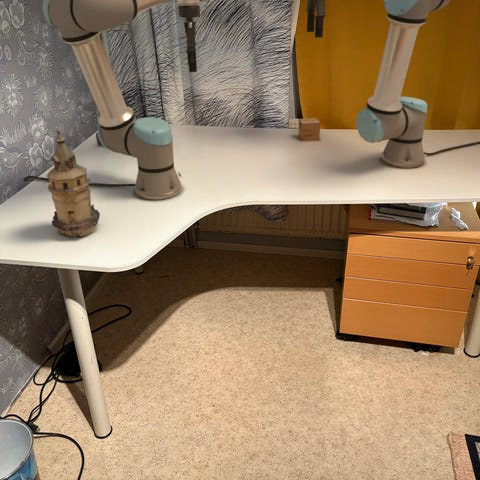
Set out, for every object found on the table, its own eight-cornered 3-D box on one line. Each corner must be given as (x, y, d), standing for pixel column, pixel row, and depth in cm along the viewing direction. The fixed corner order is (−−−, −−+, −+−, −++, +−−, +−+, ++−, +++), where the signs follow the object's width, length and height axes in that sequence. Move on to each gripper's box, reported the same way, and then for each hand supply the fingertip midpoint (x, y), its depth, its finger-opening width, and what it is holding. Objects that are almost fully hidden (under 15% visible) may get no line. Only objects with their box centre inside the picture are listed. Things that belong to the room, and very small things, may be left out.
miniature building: (80, 214, 164) (63, 117, 149) (111, 225, 157) (96, 125, 142) (44, 231, 154) (22, 130, 140) (75, 244, 147) (55, 139, 133)
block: (319, 140, 221) (320, 122, 217) (301, 141, 220) (302, 123, 216) (315, 135, 226) (316, 118, 223) (298, 136, 226) (298, 118, 222)
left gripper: (201, 8, 174) (204, 75, 184) (198, 0, 195) (201, 60, 206) (178, 8, 173) (182, 75, 184) (177, 1, 195) (181, 61, 205)
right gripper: (337, -27, 182) (332, 39, 193) (319, -31, 204) (316, 29, 214) (315, -26, 181) (312, 40, 192) (300, -30, 203) (297, 29, 214)
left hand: (192, 67), depth 195 cm, fingers open, 13 cm apart
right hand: (314, 34), depth 203 cm, fingers open, 13 cm apart
